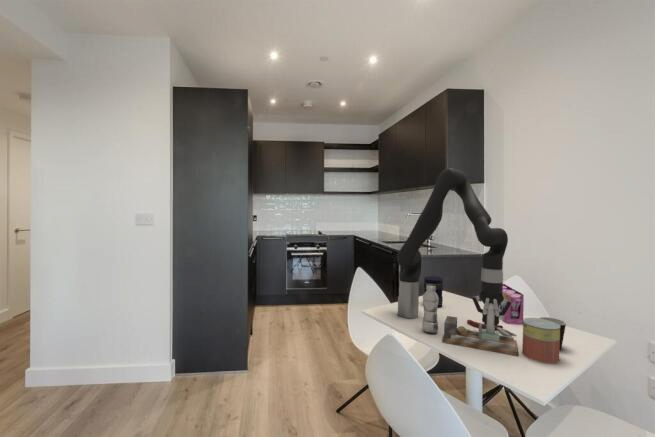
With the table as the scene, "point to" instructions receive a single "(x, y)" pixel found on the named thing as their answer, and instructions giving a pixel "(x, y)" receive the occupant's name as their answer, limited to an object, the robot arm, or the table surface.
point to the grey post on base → (489, 326)
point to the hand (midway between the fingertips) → (490, 324)
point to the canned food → (541, 340)
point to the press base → (476, 339)
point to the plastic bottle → (430, 309)
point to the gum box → (512, 306)
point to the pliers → (497, 328)
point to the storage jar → (439, 286)
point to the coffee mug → (560, 328)
